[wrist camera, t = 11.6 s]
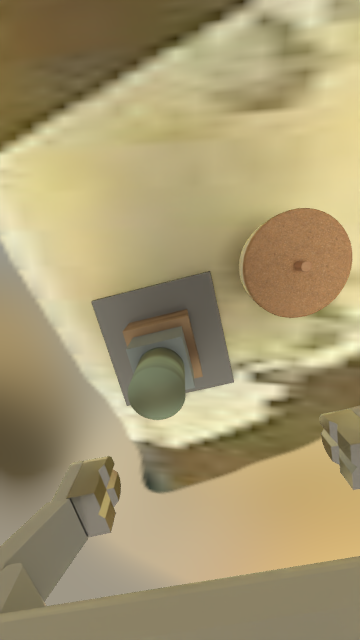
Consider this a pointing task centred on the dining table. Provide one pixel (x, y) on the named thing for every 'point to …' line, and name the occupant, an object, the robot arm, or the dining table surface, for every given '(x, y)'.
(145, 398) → the olive green cylinder
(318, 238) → the lidded jar
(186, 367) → the tower top
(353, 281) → the dining table surface
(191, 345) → the block
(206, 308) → the mat
